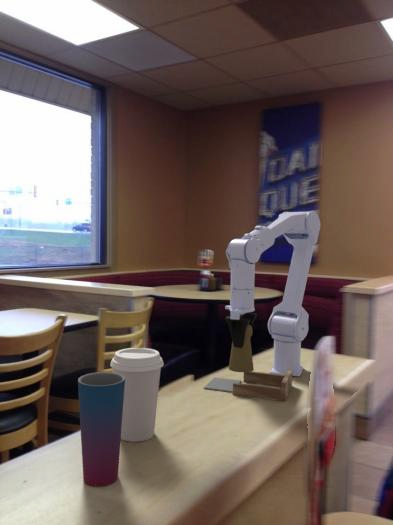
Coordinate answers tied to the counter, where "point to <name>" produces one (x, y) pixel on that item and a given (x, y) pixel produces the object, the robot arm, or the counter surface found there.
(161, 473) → the counter surface
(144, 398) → the coffee cup
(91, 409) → the cup
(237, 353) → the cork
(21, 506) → the counter surface
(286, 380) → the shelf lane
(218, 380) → the mat
